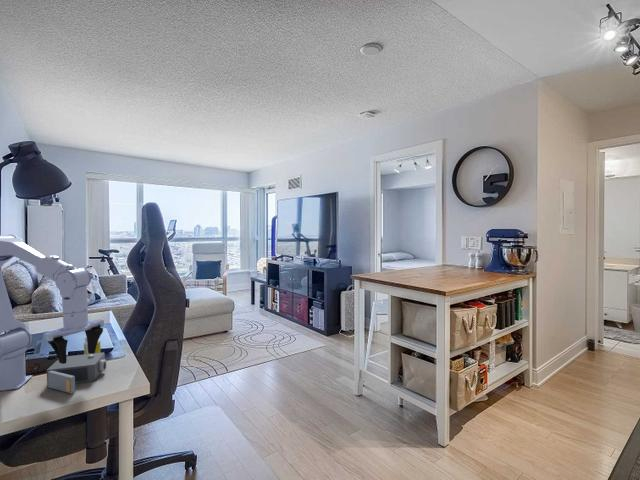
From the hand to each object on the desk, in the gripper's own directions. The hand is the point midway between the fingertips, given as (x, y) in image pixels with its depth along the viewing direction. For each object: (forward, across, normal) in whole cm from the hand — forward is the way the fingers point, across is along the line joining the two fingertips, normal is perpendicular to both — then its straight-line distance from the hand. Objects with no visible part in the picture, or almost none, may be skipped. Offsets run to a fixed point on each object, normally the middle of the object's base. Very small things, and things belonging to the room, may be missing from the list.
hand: (77, 357), depth 95 cm
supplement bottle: (+9, +14, +18) cm, 24 cm away
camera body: (+9, +4, +8) cm, 13 cm away
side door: (+8, -3, +3) cm, 9 cm away
